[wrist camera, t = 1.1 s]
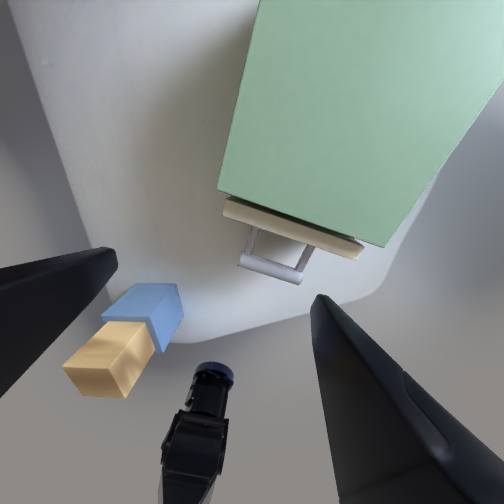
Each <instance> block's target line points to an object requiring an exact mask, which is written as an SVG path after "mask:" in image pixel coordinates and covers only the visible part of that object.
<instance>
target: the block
mask: <svg viewBox="0 0 504 504" xmlns="http://www.w3.org/2000/svg"><path fill="white" fill-rule="evenodd" d="M154 351H155V347H154V344H153V341H152V339H151V336H150V333H149V331H148V328H147V325H146V323H145V322H123V321H108V322H107V323H106V324H105V325H104V326H103V327H102V328H101V329H100V330H99V331H98V332H97V333H96V334H95V335H94V336H93V337H92V338H91V339H90V340H89V341H88V342H86V343H85V345H83V346H82V347H81V348H80V349H79V350H78V351H77V352H76V353H75V354H74V355H73V356H72V357H71V358H70V359H69V360H68V361H67V362H66V363H65V364H64V365H63V366H62V368H63V369H64V371H65V372H66V373H67V375H68V376H69V378H70V379H71V380H72V382H73V383H74V385H75V386H76V387H77V389H78V390H79V391H80V393H81V394H82V395H83V396H91V397H110V398H126V397H127V395H128V393H129V392H130V390H131V388H132V387H133V385H134V384H135V382H136V380H137V379H138V377H139V375H140V374H141V372H142V370H143V369H144V367H145V365H146V364H147V362H148V361H149V359H150V357H151V356H152V354H153V352H154Z"/></svg>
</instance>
